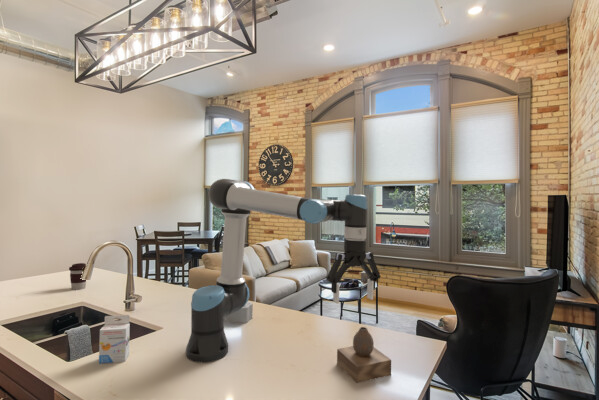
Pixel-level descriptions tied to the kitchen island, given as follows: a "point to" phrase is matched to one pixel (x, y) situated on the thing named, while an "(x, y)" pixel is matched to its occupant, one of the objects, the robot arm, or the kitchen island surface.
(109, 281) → the kitchen island surface
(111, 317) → the ink box
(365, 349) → the vase
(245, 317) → the grey angular block
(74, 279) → the coffee cup
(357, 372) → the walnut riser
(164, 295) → the kitchen island surface
